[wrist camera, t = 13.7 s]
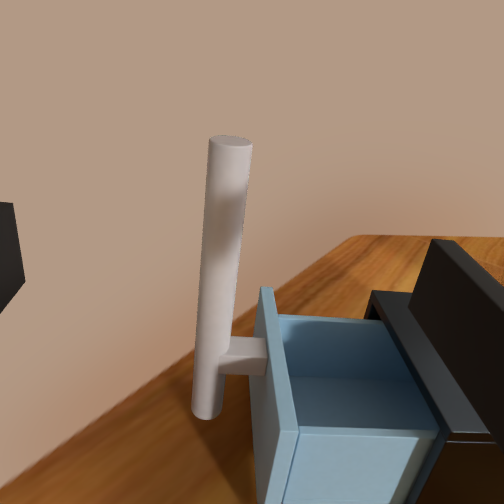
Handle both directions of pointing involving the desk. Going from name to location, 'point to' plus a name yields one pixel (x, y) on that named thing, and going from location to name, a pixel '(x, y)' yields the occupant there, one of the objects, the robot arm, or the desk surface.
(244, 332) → the desk surface
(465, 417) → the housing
